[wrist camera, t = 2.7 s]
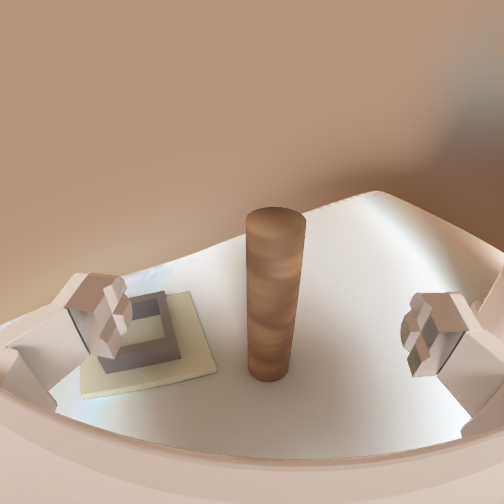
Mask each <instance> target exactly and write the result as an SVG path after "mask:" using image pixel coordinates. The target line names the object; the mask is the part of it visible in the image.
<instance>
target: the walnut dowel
mask: <svg viewBox="0 0 504 504" xmlns="http://www.w3.org/2000/svg"><path fill="white" fill-rule="evenodd" d="M305 229H306V219H305V218H304V216H303V215H301V214H300V213H298V212H296V211H294V210H291V209H287V208H281V207H267V208H261V209H257V210H255V211H252V212H251V213H249V214H248V215H247V217H246V268H247V333H248V369H249V372H250V373H251V375H252V376H253V377H254V378H256V379H258V380H260V381H264V382H273V381H277V380H279V379H281V378H282V377H283V376H285V374H286V373H287V371H288V366H289V359H290V352H291V345H292V338H293V331H294V324H295V317H296V309H297V301H298V293H299V285H300V276H301V267H302V258H303V249H304V239H305Z"/></svg>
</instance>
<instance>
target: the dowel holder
mask: <svg viewBox="0 0 504 504" xmlns="http://www.w3.org/2000/svg"><path fill="white" fill-rule="evenodd" d="M129 299H130V301H131V304H132V311H133V316H132V322H131V325H130V327H129V329H128V331H127V332H125V333H124V334H122V335H121V339H122V344H121V346H120V348H119V350H118V352H117V354H116V357H115V359H110V358H105V357H100V356H95V355H90V356H89V357H88V358H87V359H86V360H85V361H83V362H82V363H81V364H80V392H81V396H82V397H83V398H84V399H92V398H98V397H105V396H111V395H117V394H122V393H128V392H133V391H138V390H143V389H148V388H153V387H158V386H162V385H167V384H171V383H176V382H180V381H184V380H188V379H192V378H197V377H200V376H204V375H208V374H212V373H216V372H217V368H216V365H215V362H214V359H213V357H212V354H211V352H210V349H209V346H208V344H207V341H206V338H205V335H204V333H203V330H202V327H201V324H200V322H199V319H198V316H197V313H196V310H195V307H194V305H193V302H192V299H191V296H190V293H189V291H188V292H183V293H179V294H174V295H170V296H165V292H164V291H160V292H156V293H151V294H146V295H142V296H137V297H132V298H129Z"/></svg>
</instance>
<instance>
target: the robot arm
mask: <svg viewBox="0 0 504 504" xmlns="http://www.w3.org/2000/svg"><path fill="white" fill-rule="evenodd" d="M503 53H504V49H503ZM126 289H127V287H126V284H125V281H124V279H123V278H121V277H120V276H112V275H104V274H97V273H88V272H77V273H75V274H74V275H73V276H72V278H71V279H70V280H69V281H68V282H67V284H66V285H65V286H64V287H63V289H62V290H61V291H60V292H59V294H58V295H57V296H56V298H55V299H54V301H53V302H52V303H51V304H50V305H45V306H43V307H41V308H39V309H37V310H35V311H34V312H32V313H30V314H28V315H27V316H25V317H23V318H21V319H20V320H18V321H16V322H14V323H13V324H11V325H9V326H7V327H6V328H4V329H2V330H1V331H0V504H504V267H503V268H502V269H501V271H500V273H499V275H498V277H497V278H496V280H495V282H494V284H493V286H492V288H491V290H490V291H489V293H488V295H487V296H486V297H483V298H480V299H477V300H475V301H474V302H473V303H472V305H471V307H469V305H468V303H467V302H466V300H465V298H464V297H463V295H462V294H460V293H459V292H447V293H416V294H415V295H414V296H413V297H412V300H411V302H410V306H411V309H412V310H411V311H410V312H409V313H407V314H406V315H405V317H404V319H403V322H402V324H401V333H400V334H401V341H402V344H403V347H404V348H405V349H406V350H407V351H408V352H410V353H409V356H408V358H407V360H408V364H409V367H410V370H411V373H412V377H422V376H434V375H437V378H438V379H439V380H440V381H441V382H442V383H443V384H444V386H445V387H446V388H447V389H448V390H449V391H450V392H451V394H452V395H453V396H454V397H455V398H456V399H457V401H458V402H459V403H460V404H461V405H462V406H463V408H464V409H465V410H466V411H467V412H468V413H469V415H470V416H471V417H472V419H471V420H469V421H468V422H467V423H466V424H465V425H464V426H463V428H462V429H461V435H462V438H460V439H457V440H453V441H449V442H445V443H441V444H436V445H432V446H427V447H422V448H417V449H412V450H406V451H400V452H393V453H387V454H379V455H370V456H361V457H349V458H333V459H267V458H251V457H239V456H229V455H220V454H212V453H205V452H198V451H192V450H186V449H181V448H175V447H170V446H165V445H160V444H156V443H151V442H147V441H143V440H139V439H135V438H131V437H127V436H124V435H120V434H117V433H113V432H110V431H107V430H103V429H100V428H97V427H94V426H91V425H88V424H85V423H82V422H80V421H77V420H74V419H71V418H69V417H66V416H64V415H61V414H59V413H56V412H55V410H56V407H57V403H56V401H55V399H54V398H53V397H52V396H51V395H50V393H49V392H48V391H49V390H50V389H51V388H52V387H54V386H55V385H56V384H57V383H58V382H60V381H61V380H62V379H63V378H64V377H65V376H67V375H68V374H69V373H70V372H71V371H73V370H74V369H75V368H76V367H77V366H79V365H80V364H81V363H82V362H83V361H85V360H86V359H87V358H88V357H89V356H90V355H95V356H100V357H105V358H110V359H115V357H116V354H117V352H118V350H119V348H120V346H121V344H122V339H121V335H122V334H124V333H125V332H127V331H128V329H129V327H130V325H131V322H132V316H133V311H132V304H131V301H130V299H129V298H128V297H127V296H126V295H125V294H124V292H125V291H126Z"/></svg>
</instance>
